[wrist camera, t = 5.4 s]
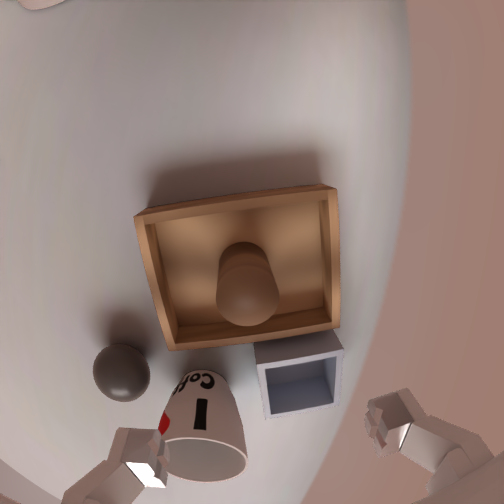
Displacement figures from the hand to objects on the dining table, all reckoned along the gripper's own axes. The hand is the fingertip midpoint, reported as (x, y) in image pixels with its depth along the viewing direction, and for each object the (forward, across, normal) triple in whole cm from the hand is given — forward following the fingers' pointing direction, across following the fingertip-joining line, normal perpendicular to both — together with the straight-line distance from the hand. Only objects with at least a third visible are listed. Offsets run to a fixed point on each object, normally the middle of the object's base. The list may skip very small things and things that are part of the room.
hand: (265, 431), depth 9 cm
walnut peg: (+16, 0, 0) cm, 16 cm away
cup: (+17, +6, +14) cm, 23 cm away
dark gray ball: (+17, +13, +8) cm, 23 cm away
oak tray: (+17, 0, 0) cm, 17 cm away
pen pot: (+17, -4, +10) cm, 20 cm away
